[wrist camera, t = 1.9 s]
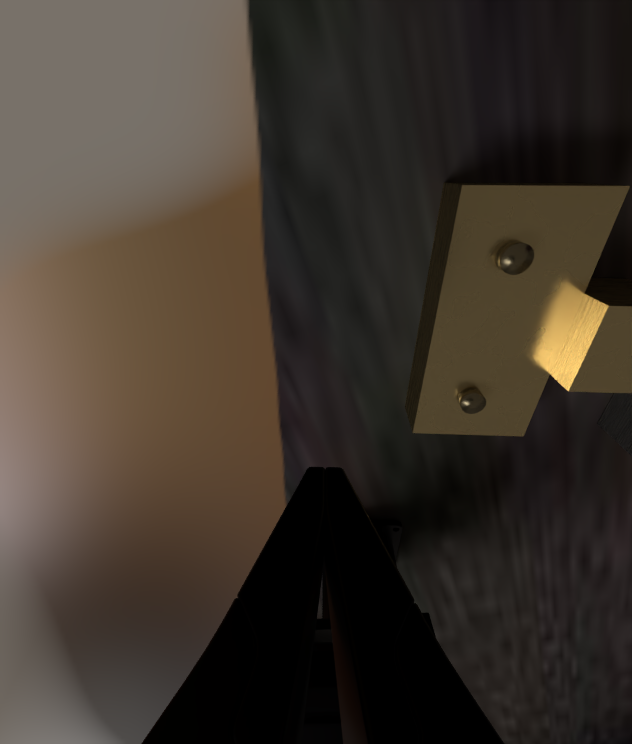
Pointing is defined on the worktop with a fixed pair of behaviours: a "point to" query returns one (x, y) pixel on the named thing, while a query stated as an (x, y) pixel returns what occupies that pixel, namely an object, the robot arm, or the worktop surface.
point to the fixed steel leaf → (619, 420)
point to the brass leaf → (517, 306)
